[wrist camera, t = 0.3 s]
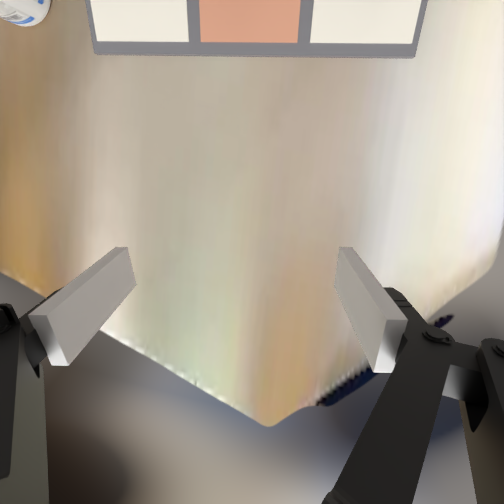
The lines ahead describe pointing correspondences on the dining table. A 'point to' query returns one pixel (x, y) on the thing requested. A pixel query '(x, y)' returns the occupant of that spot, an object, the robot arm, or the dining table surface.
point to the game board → (257, 28)
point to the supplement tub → (24, 11)
